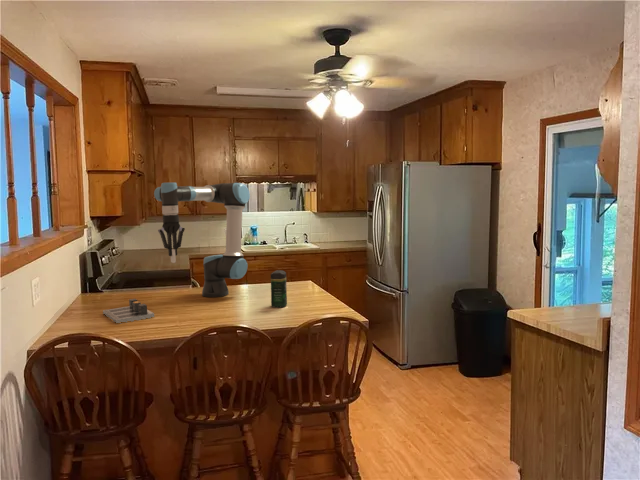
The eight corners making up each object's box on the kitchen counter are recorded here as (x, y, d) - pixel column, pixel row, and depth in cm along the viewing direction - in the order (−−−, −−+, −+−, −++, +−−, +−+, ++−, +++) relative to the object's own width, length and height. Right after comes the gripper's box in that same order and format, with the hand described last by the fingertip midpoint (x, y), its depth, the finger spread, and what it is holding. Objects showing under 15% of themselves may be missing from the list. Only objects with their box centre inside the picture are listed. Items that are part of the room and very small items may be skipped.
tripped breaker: (132, 309, 257) (132, 301, 257) (138, 308, 259) (138, 300, 258) (135, 311, 254) (134, 303, 253) (141, 310, 256) (140, 302, 255)
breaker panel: (103, 314, 258) (102, 302, 258) (139, 308, 269) (138, 297, 268) (116, 324, 239) (115, 311, 238) (154, 317, 250) (153, 305, 249)
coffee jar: (285, 308, 262) (284, 272, 259) (270, 308, 262) (268, 272, 260) (288, 303, 271) (287, 269, 269) (273, 303, 272) (272, 269, 270)
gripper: (160, 215, 241) (163, 264, 243) (186, 213, 248) (189, 261, 251) (154, 214, 247) (157, 263, 249) (180, 213, 254) (183, 260, 257)
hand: (173, 262), depth 250 cm, fingers closed
